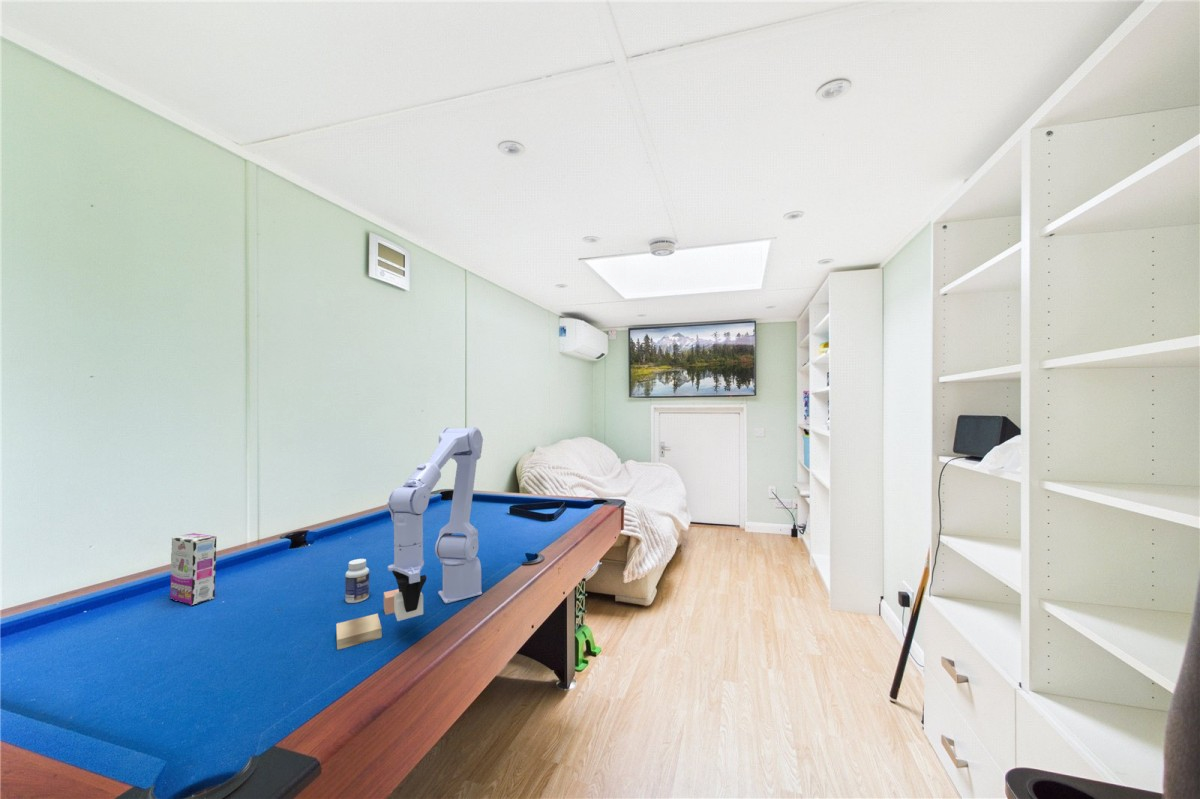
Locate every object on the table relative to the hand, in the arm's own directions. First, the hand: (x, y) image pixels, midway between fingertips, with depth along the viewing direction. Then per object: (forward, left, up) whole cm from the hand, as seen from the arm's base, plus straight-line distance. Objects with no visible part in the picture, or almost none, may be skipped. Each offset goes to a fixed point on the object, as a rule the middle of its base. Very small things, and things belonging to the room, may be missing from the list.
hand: (408, 605), depth 90 cm
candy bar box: (+44, -53, -6) cm, 69 cm away
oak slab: (+9, -6, -6) cm, 12 cm away
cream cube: (0, 0, -2) cm, 2 cm away
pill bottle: (+8, -27, -6) cm, 29 cm away
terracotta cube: (+1, -15, -6) cm, 16 cm away
